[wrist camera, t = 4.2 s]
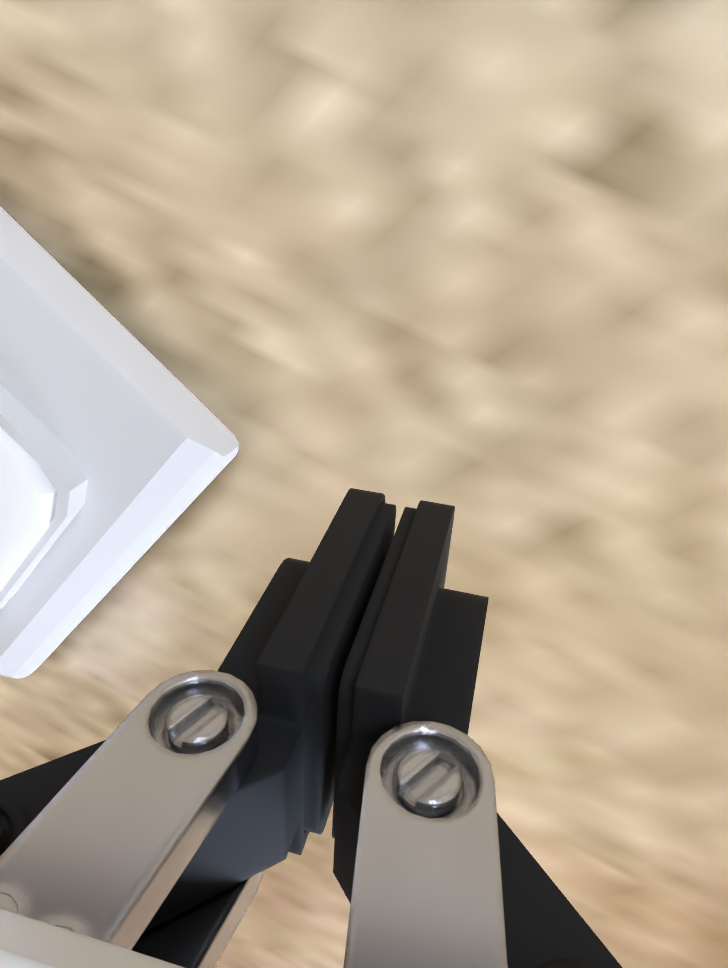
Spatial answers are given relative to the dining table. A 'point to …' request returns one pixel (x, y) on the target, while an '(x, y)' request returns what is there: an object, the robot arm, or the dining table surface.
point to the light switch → (82, 451)
